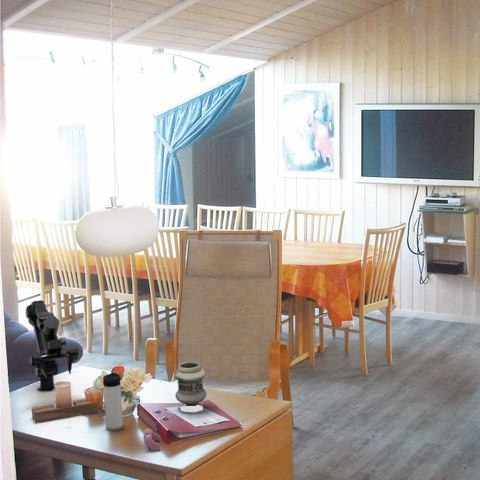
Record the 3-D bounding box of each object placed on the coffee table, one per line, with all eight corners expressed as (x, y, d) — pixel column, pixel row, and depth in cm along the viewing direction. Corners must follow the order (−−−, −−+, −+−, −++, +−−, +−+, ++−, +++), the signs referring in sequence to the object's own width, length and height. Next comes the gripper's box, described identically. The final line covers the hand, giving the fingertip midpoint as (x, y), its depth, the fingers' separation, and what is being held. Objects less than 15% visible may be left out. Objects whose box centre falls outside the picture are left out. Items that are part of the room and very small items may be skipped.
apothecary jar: (170, 412, 312) (168, 367, 310) (184, 402, 324) (182, 358, 321) (199, 415, 308) (197, 370, 305) (212, 405, 319) (210, 361, 316)
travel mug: (125, 424, 302) (122, 372, 299) (120, 431, 295) (117, 378, 292) (108, 424, 302) (105, 372, 299) (103, 431, 296) (100, 378, 293)
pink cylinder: (54, 412, 317) (52, 382, 315) (70, 409, 319) (68, 380, 318) (58, 417, 311) (56, 387, 310) (74, 414, 314) (72, 384, 312)
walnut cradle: (32, 417, 312) (31, 407, 312) (93, 406, 322) (92, 397, 321) (35, 423, 306) (34, 413, 305) (98, 412, 315) (97, 402, 315)
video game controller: (150, 445, 285) (140, 428, 284) (162, 438, 285) (152, 422, 284) (150, 456, 276) (139, 439, 275) (161, 449, 276) (151, 432, 275)
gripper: (29, 334, 319) (36, 368, 310) (76, 328, 326) (84, 361, 318) (27, 348, 327) (34, 382, 319) (73, 342, 334) (80, 375, 326)
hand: (58, 375), depth 320 cm, fingers open, 9 cm apart
